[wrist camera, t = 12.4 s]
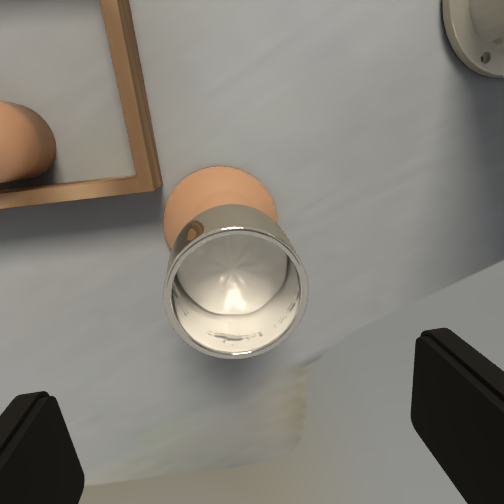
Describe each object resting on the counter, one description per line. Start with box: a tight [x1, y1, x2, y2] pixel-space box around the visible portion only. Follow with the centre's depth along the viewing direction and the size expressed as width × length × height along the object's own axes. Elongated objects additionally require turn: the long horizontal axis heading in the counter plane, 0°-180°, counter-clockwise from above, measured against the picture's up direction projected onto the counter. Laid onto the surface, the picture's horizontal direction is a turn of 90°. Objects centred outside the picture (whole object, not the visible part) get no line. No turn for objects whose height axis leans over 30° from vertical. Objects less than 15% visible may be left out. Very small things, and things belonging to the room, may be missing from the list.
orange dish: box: [163, 166, 277, 250], centre depth 29 cm, size 10×10×1 cm
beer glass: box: [163, 189, 308, 359], centre depth 22 cm, size 7×7×15 cm
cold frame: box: [0, 0, 163, 209], centre depth 22 cm, size 17×18×4 cm
